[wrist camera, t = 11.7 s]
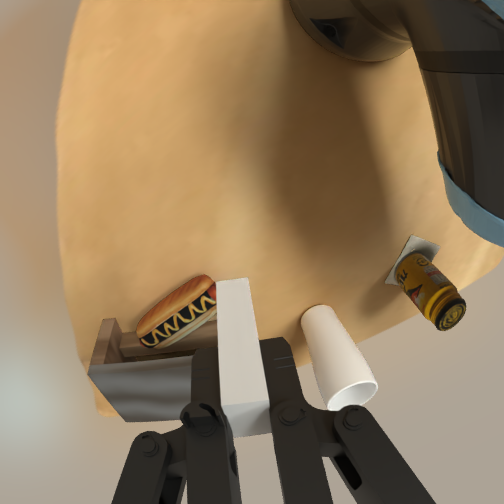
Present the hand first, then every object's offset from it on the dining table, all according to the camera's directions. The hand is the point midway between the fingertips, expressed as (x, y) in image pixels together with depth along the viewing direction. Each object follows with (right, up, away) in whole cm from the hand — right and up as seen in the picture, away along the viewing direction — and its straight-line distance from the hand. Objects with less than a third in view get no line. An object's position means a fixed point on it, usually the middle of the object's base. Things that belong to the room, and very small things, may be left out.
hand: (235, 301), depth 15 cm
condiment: (+25, +1, +28) cm, 38 cm away
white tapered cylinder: (+10, -7, +29) cm, 32 cm away
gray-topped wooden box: (-9, -10, +28) cm, 31 cm away
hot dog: (-9, -4, +24) cm, 26 cm away
